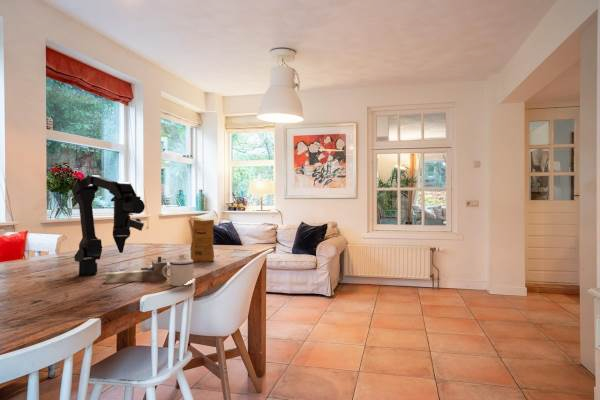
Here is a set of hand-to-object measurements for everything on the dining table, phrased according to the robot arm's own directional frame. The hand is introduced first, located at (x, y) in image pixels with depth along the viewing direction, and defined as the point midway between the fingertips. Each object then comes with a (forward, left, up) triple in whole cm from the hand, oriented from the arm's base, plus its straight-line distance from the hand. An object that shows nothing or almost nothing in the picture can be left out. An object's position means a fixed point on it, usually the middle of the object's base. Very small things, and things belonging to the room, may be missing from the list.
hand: (121, 251), depth 158 cm
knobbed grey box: (+12, -1, -12) cm, 17 cm away
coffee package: (+40, +37, -12) cm, 56 cm away
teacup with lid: (+20, -15, -12) cm, 28 cm away
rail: (+3, -1, -12) cm, 12 cm away
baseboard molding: (+15, +21, -13) cm, 29 cm away
